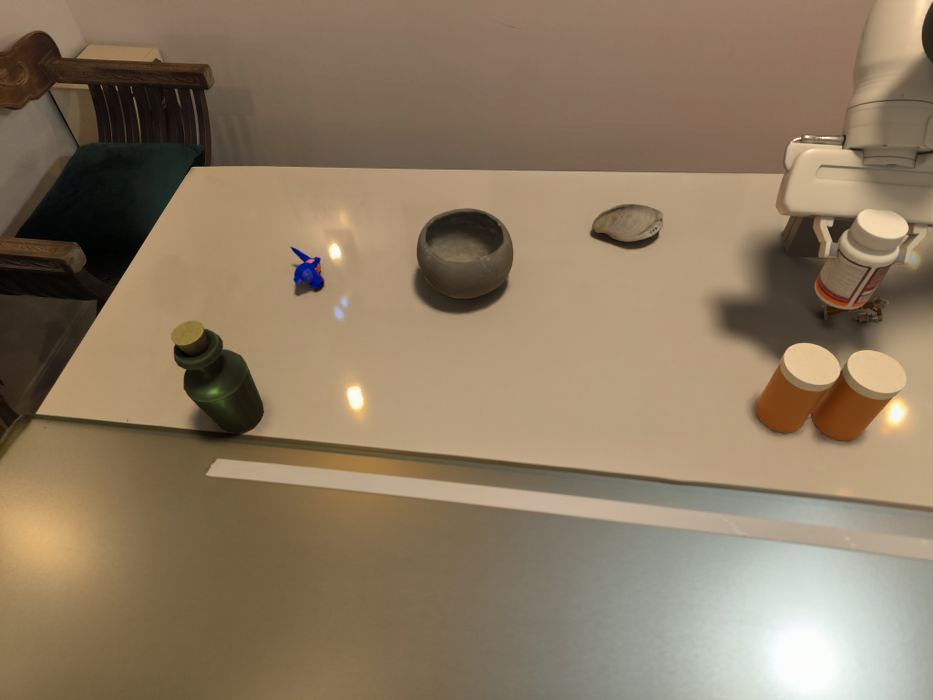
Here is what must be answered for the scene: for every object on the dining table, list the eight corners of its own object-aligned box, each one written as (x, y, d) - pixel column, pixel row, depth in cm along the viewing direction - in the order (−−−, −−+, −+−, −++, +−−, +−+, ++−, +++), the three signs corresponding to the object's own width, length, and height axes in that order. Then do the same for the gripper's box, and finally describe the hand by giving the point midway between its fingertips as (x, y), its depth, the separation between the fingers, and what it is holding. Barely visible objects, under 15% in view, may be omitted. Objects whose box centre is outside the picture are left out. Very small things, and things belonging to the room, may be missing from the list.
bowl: (494, 240, 104) (492, 192, 96) (526, 299, 95) (528, 252, 87) (411, 262, 102) (403, 215, 94) (436, 325, 93) (429, 279, 85)
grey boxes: (782, 233, 101) (804, 184, 93) (840, 238, 99) (868, 188, 92) (785, 254, 98) (809, 205, 90) (845, 260, 96) (875, 210, 89)
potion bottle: (252, 446, 82) (197, 366, 68) (200, 432, 84) (137, 352, 70) (280, 397, 87) (235, 313, 72) (231, 385, 88) (177, 301, 74)
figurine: (299, 297, 99) (290, 276, 95) (297, 266, 103) (289, 244, 100) (328, 291, 99) (320, 270, 95) (325, 261, 104) (317, 239, 100)
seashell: (597, 253, 101) (600, 230, 97) (586, 221, 106) (589, 198, 102) (668, 246, 101) (674, 223, 97) (654, 214, 106) (660, 191, 102)
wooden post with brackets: (890, 323, 87) (890, 302, 84) (826, 331, 91) (824, 311, 88) (888, 314, 88) (888, 293, 85) (824, 322, 92) (822, 302, 89)
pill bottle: (861, 277, 77) (907, 206, 68) (871, 314, 73) (921, 243, 64) (809, 273, 78) (847, 202, 69) (816, 308, 74) (858, 238, 65)
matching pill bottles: (752, 390, 83) (781, 339, 74) (858, 404, 80) (900, 353, 72) (756, 429, 79) (786, 380, 70) (867, 444, 77) (912, 396, 68)
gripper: (797, 125, 67) (775, 251, 69) (1005, 138, 64) (977, 270, 66) (779, 138, 73) (759, 253, 75) (968, 150, 70) (943, 270, 72)
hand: (862, 261), depth 70 cm, fingers closed on pill bottle, 6 cm apart
